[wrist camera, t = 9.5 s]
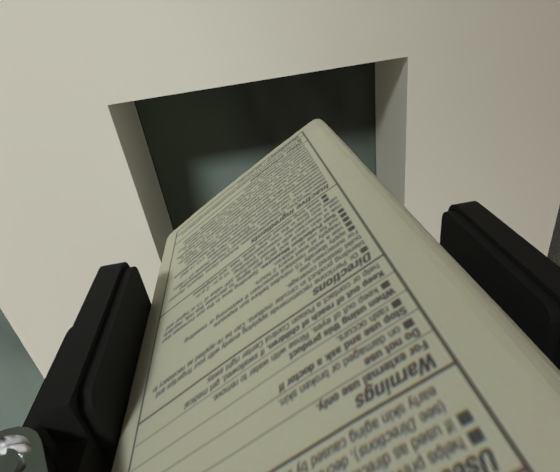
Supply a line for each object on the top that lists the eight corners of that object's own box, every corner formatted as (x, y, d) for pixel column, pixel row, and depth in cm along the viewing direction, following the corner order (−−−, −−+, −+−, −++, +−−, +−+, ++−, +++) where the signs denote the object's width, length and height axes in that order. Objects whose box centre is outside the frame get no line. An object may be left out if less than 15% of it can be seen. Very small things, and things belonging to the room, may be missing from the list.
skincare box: (249, 309, 15) (311, 1017, 5) (160, 230, 13) (-101, 1176, 3) (395, 208, 14) (961, 891, 3) (320, 101, 12) (1197, 1018, 1)
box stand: (-160, -108, 11) (-281, -141, 8) (573, -211, 11) (674, -271, 9) (105, 393, 21) (88, 449, 18) (484, 322, 22) (520, 366, 19)
